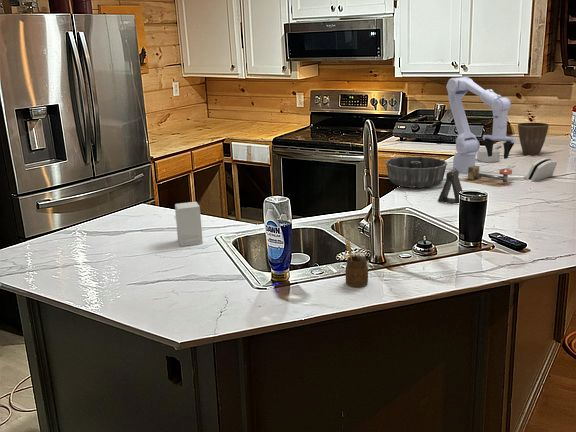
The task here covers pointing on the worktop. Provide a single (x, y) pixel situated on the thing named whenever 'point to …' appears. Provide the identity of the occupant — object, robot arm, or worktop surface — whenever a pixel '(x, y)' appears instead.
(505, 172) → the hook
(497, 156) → the saucepan
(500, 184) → the board
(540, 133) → the plant pot
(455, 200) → the phone stand
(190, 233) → the supplement box
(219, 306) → the worktop surface
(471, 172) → the wooden holder
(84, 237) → the worktop surface
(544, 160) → the grey rounded block
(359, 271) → the utensil holder
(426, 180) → the bundt pan
